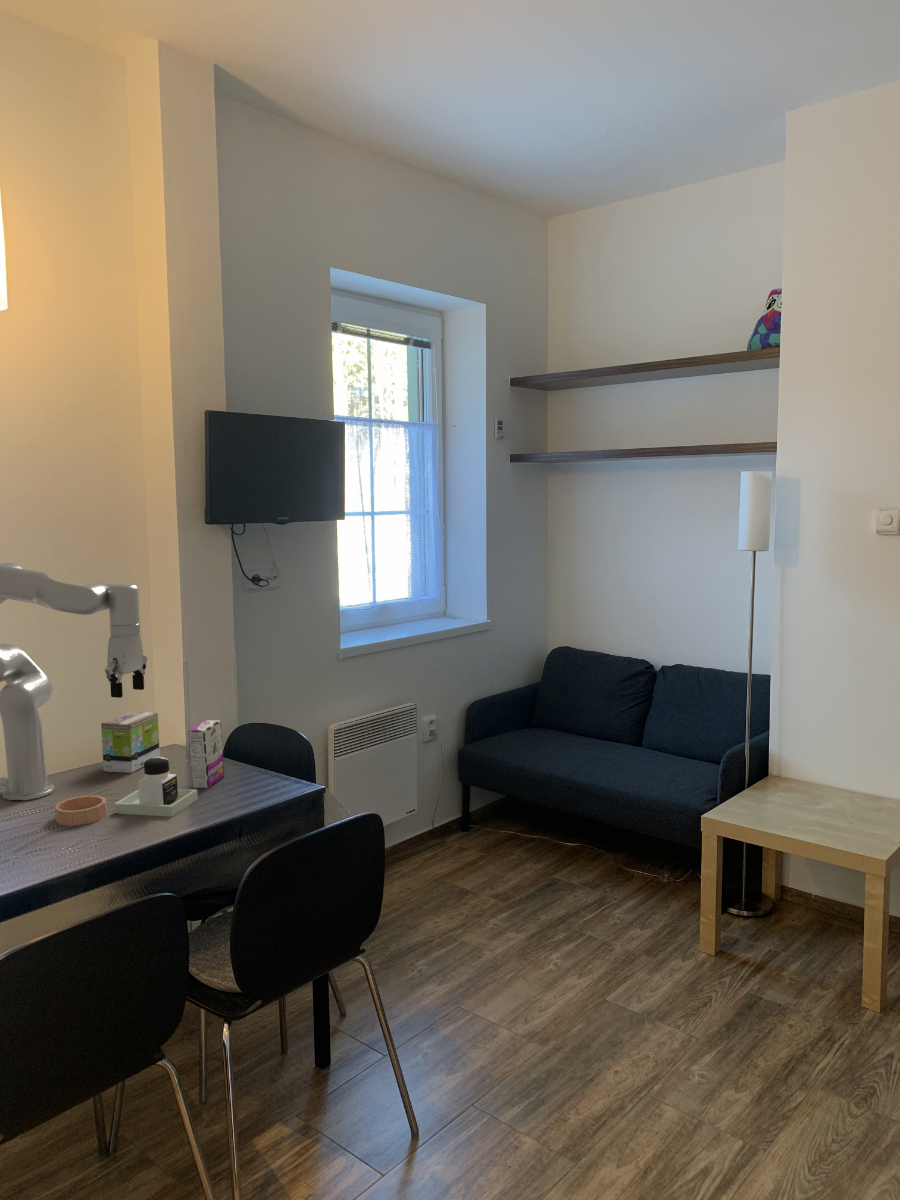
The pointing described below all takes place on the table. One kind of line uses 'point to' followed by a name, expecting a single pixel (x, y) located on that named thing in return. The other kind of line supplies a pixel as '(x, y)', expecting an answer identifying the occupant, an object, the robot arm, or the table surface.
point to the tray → (133, 807)
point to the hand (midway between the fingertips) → (127, 693)
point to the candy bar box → (206, 753)
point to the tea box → (129, 741)
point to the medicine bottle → (158, 783)
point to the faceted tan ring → (81, 810)
